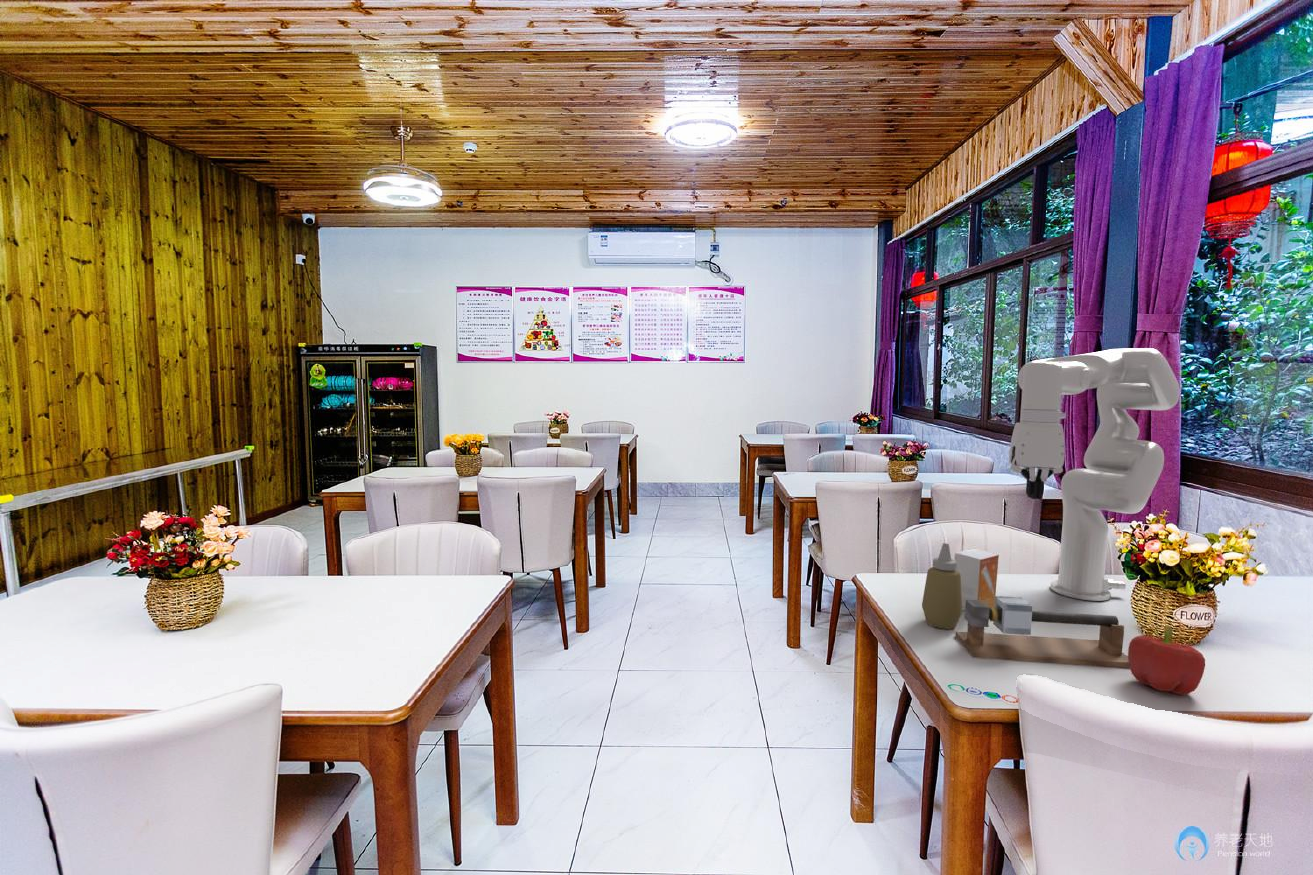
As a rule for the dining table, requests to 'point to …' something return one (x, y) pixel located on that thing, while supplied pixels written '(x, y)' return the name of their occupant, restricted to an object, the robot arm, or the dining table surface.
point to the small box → (977, 575)
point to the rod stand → (1044, 639)
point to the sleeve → (1014, 615)
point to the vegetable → (1165, 663)
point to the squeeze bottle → (943, 592)
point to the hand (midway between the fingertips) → (1034, 497)
